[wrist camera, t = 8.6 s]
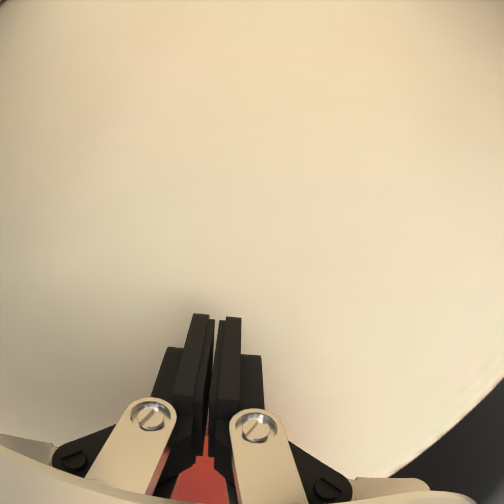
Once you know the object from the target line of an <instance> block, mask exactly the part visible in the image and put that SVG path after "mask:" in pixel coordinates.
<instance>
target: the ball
mask: <svg viewBox="0 0 504 504" xmlns="http://www.w3.org/2000/svg"><path fill="white" fill-rule="evenodd" d="M174 500H178V501H185V502H193V503H201V504H227V497H226V491H225V484H224V477H223V476H222V475H221V474H220V473H218V472H217V471H216V470H215V469H214V458H213V457H208V435H206V436H205V442H204V451H203V456H196V464H193V466H192V467H190V468H188V469H187V470H185V471H183V473H182V479H181V481H180V484H179V487H178V490H177V492H176V495H175V498H174Z"/></svg>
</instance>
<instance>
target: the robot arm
mask: <svg viewBox="0 0 504 504" xmlns="http://www.w3.org/2000/svg"><path fill="white" fill-rule="evenodd" d="M0 1H2V0H0ZM214 328H215V320H214V319H209V315H205V314H196V313H194V314H193V317H192V321H191V324H190V328H189V331H188V335H187V338H186V342H185V345H184V348H176V347H168V348H167V350H166V352H165V355H164V358H163V361H162V364H161V367H160V370H159V373H158V376H157V379H156V382H155V385H154V388H153V391H152V394H151V397H148V398H141V399H138V400H136V401H134V402H132V403H131V404H130V405H129V406H128V407H127V408H126V410H125V411H124V413H123V415H122V416H121V418H120V420H119V421H118V423H117V424H115V425H113V426H111V427H108V428H106V429H103V430H101V431H98V432H95V433H93V434H90V435H88V436H85V437H82V438H80V439H77V440H74V441H71V442H69V443H66V444H64V445H62V446H60V447H54V446H53V444H52V443H46V442H40V441H34V440H29V439H24V438H19V437H14V436H9V435H5V434H0V504H201V503H193V502H185V501H178V500H174V498H175V495H176V492H177V490H178V487H179V484H180V481H181V479H182V473H183V471H185V470H187V469H188V468H190V467H192V466H193V464H196V456H203V451H204V442H205V433H206V425H207V417H208V408H209V425H208V457H213V458H214V469H215V470H216V471H217V472H218V473H220V474H221V475H222V476H223V477H224V484H225V491H226V497H227V504H476V503H475V501H473V500H472V499H471V498H469V497H467V496H465V495H462V494H458V493H452V492H443V491H430V489H429V487H428V486H427V485H426V483H425V482H423V481H421V480H419V479H414V478H397V479H396V478H364V477H357V478H356V479H355V480H350V479H347V478H346V477H344V476H343V475H342V474H340V473H338V472H337V471H335V470H333V469H332V468H330V467H329V466H327V465H325V464H324V463H322V462H320V461H319V460H317V459H316V458H314V457H313V456H311V455H309V454H308V453H306V452H305V451H303V450H302V449H300V448H299V447H297V446H296V445H294V444H293V443H291V442H290V441H288V440H287V437H286V434H285V431H284V427H283V425H282V423H281V421H280V419H279V418H278V417H277V416H275V415H274V414H272V413H271V412H269V411H266V410H265V407H264V392H263V376H262V361H261V356H259V355H244V354H241V318H237V317H226V321H225V320H220V321H219V328H218V335H217V342H216V350H215V357H214V365H213V347H214ZM212 369H213V372H212Z"/></svg>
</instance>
